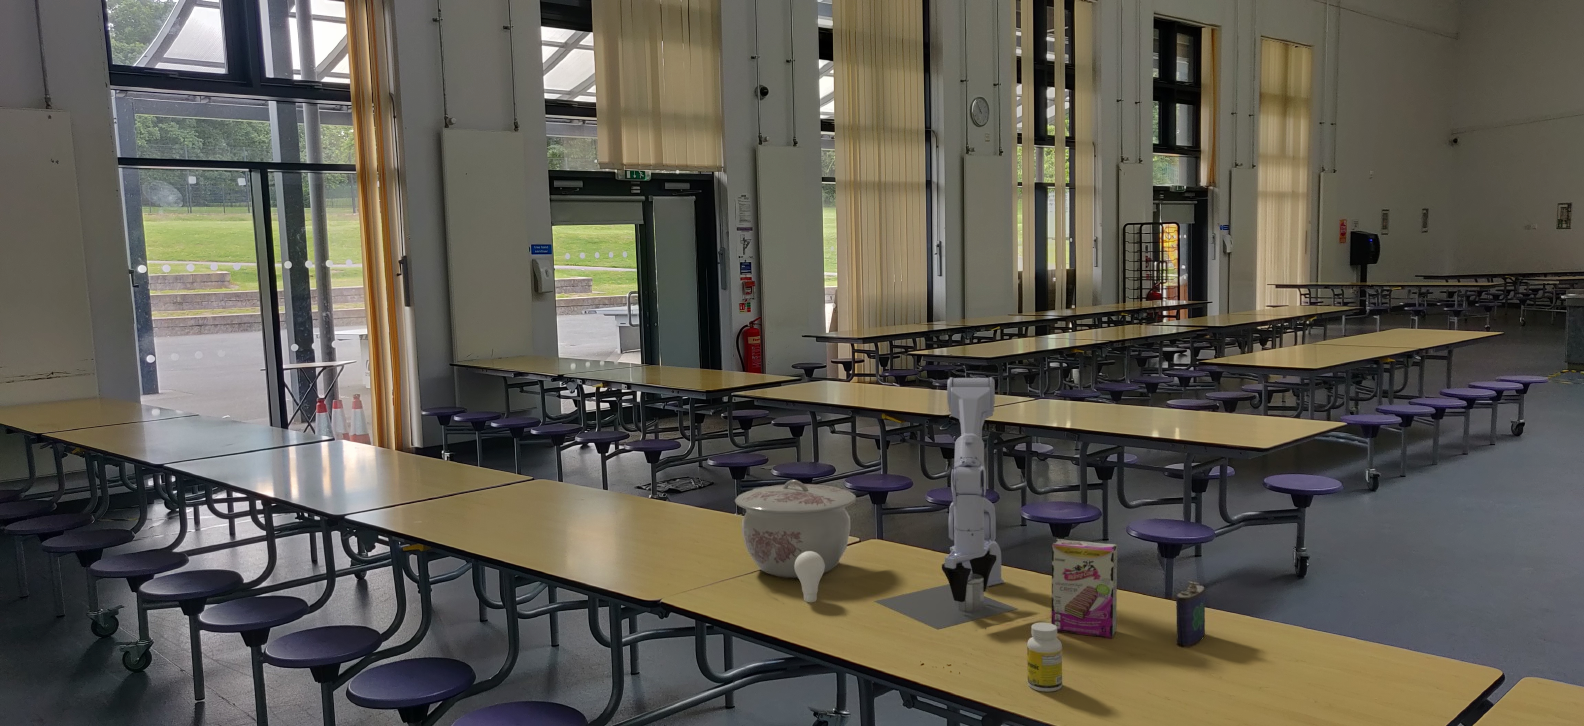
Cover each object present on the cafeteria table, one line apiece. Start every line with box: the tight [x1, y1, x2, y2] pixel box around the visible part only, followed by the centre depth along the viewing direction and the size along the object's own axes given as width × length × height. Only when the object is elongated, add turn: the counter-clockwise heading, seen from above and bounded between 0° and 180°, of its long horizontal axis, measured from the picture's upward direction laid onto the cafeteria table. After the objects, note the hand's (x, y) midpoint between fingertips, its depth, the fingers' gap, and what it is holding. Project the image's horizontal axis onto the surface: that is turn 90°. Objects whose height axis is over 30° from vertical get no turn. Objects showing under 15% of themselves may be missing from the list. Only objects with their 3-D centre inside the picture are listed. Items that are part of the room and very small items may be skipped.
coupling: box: [955, 573, 985, 612], centre depth 200 cm, size 5×5×6 cm
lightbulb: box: [794, 551, 825, 603], centre depth 207 cm, size 6×6×11 cm
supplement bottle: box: [1026, 622, 1063, 693], centre depth 164 cm, size 5×5×10 cm
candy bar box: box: [1050, 538, 1118, 639], centre depth 188 cm, size 11×5×16 cm, turn 65°
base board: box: [873, 583, 1018, 630], centre depth 202 cm, size 20×20×1 cm
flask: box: [1175, 580, 1206, 649], centre depth 182 cm, size 9×3×11 cm, turn 138°
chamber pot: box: [734, 479, 857, 579], centre depth 232 cm, size 28×28×21 cm
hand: (969, 595), depth 200 cm, fingers open, 7 cm apart
